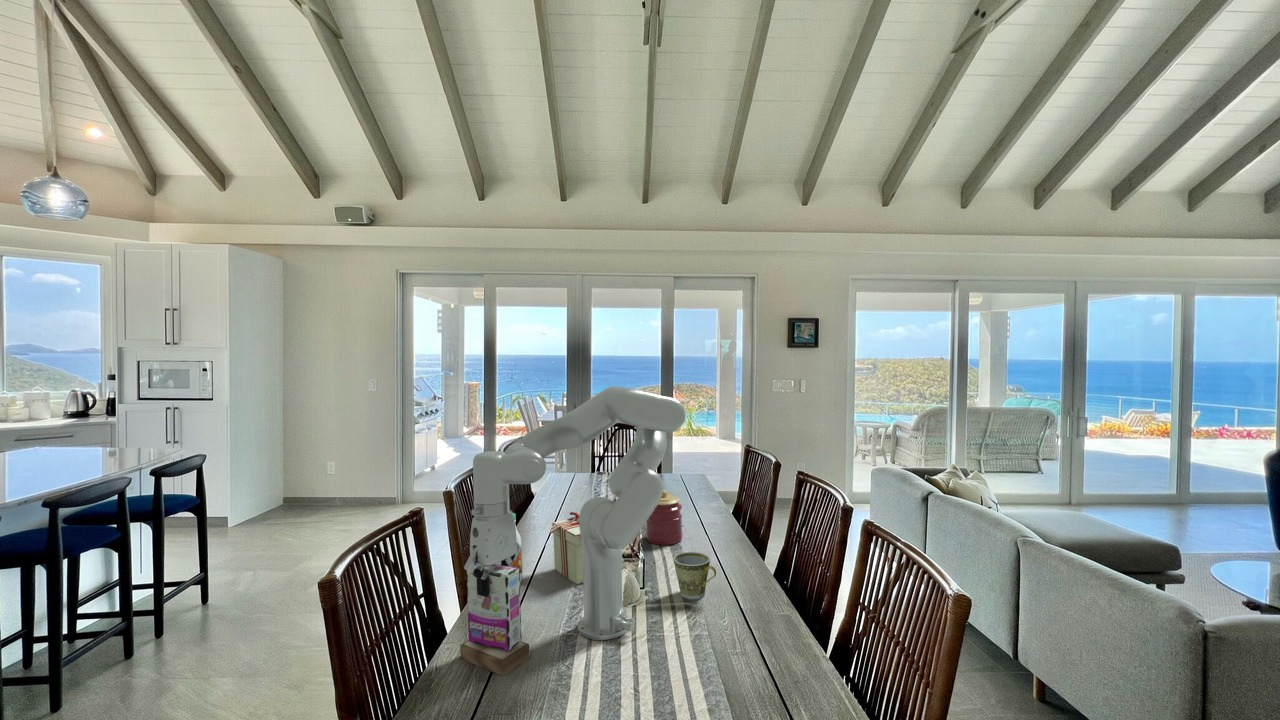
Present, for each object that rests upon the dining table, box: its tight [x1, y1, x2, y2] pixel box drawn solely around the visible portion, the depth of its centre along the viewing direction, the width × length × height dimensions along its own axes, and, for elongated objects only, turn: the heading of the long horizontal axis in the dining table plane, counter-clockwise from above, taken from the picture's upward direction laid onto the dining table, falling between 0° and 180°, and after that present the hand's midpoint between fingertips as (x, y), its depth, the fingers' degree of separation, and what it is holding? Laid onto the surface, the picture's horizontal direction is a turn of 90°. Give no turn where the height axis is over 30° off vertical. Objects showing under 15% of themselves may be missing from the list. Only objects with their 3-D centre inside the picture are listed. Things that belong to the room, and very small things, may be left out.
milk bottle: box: [496, 512, 523, 583], centre depth 163 cm, size 8×8×20 cm
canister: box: [645, 489, 683, 546], centre depth 197 cm, size 13×13×18 cm
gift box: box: [549, 511, 583, 585], centre depth 168 cm, size 17×18×17 cm
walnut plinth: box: [459, 639, 530, 677], centre depth 122 cm, size 13×8×3 cm, turn 58°
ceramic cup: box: [673, 551, 717, 600], centre depth 151 cm, size 13×10×10 cm
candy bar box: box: [465, 564, 523, 651], centre depth 122 cm, size 11×5×16 cm, turn 67°
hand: (494, 589), depth 122 cm, fingers open, 5 cm apart
